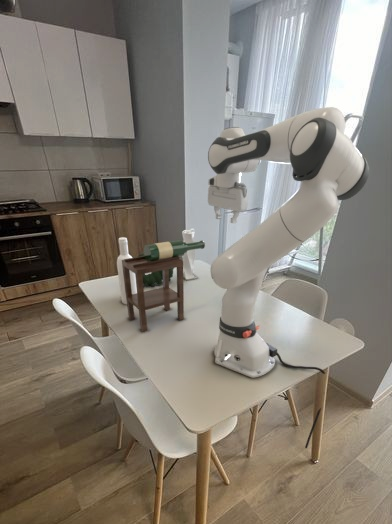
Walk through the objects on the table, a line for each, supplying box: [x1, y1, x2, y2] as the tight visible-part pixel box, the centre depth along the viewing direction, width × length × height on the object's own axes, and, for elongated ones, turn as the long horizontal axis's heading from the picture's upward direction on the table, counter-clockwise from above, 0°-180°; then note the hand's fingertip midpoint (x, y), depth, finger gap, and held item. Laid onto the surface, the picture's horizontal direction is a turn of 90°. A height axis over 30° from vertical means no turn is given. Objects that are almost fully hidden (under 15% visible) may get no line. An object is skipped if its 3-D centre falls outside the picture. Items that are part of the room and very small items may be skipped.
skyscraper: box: [181, 228, 198, 281], centre depth 167 cm, size 8×8×28 cm
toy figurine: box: [137, 253, 175, 288], centre depth 161 cm, size 9×19×25 cm
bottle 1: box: [116, 236, 137, 305], centre depth 138 cm, size 8×8×30 cm
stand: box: [122, 256, 185, 333], centre depth 124 cm, size 14×20×27 cm
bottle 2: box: [143, 239, 206, 262], centre depth 120 cm, size 6×26×6 cm, turn 124°
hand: (225, 220), depth 119 cm, fingers open, 8 cm apart
